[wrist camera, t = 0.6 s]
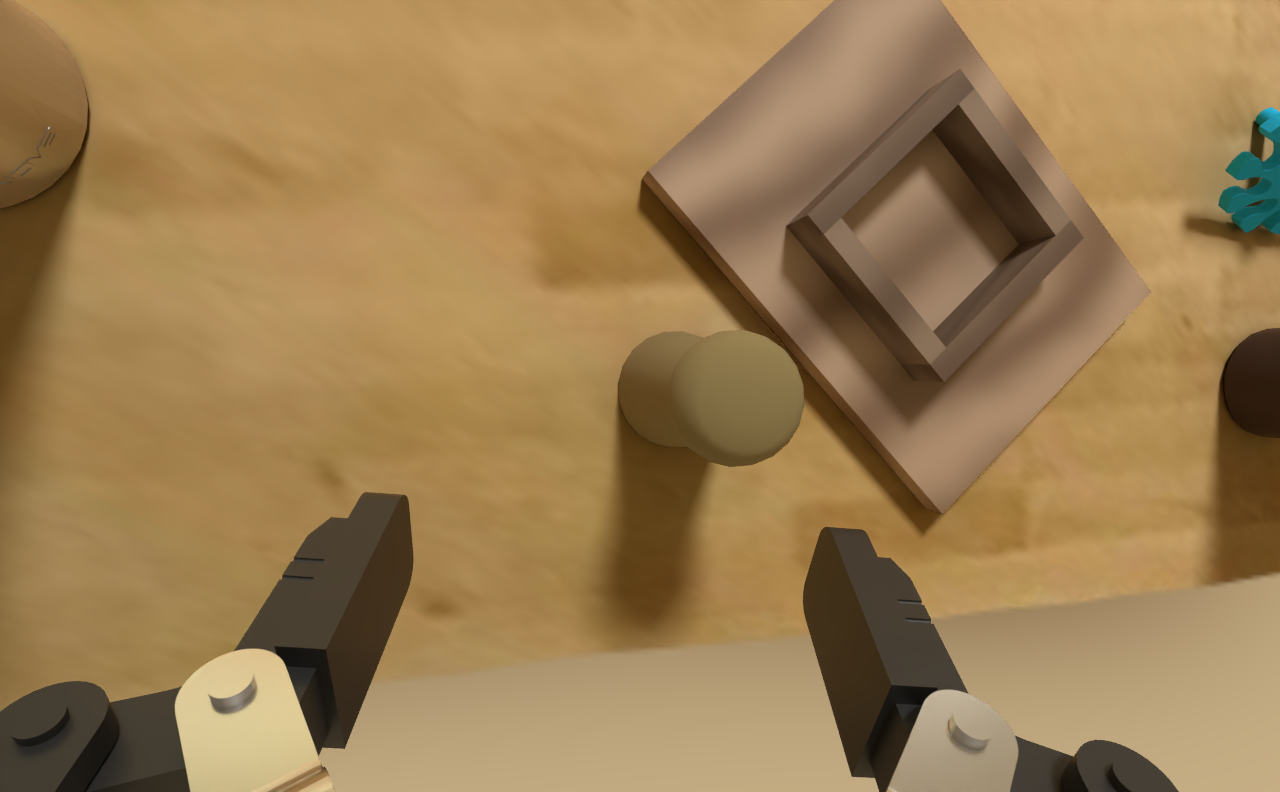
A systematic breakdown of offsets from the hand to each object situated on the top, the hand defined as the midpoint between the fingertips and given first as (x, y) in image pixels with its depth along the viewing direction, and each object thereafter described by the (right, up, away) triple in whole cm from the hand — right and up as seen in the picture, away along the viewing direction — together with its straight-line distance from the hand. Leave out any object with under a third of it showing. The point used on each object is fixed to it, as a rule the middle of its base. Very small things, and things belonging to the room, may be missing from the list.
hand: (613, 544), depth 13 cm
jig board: (+15, +11, +24) cm, 30 cm away
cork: (+2, +3, +22) cm, 22 cm away
